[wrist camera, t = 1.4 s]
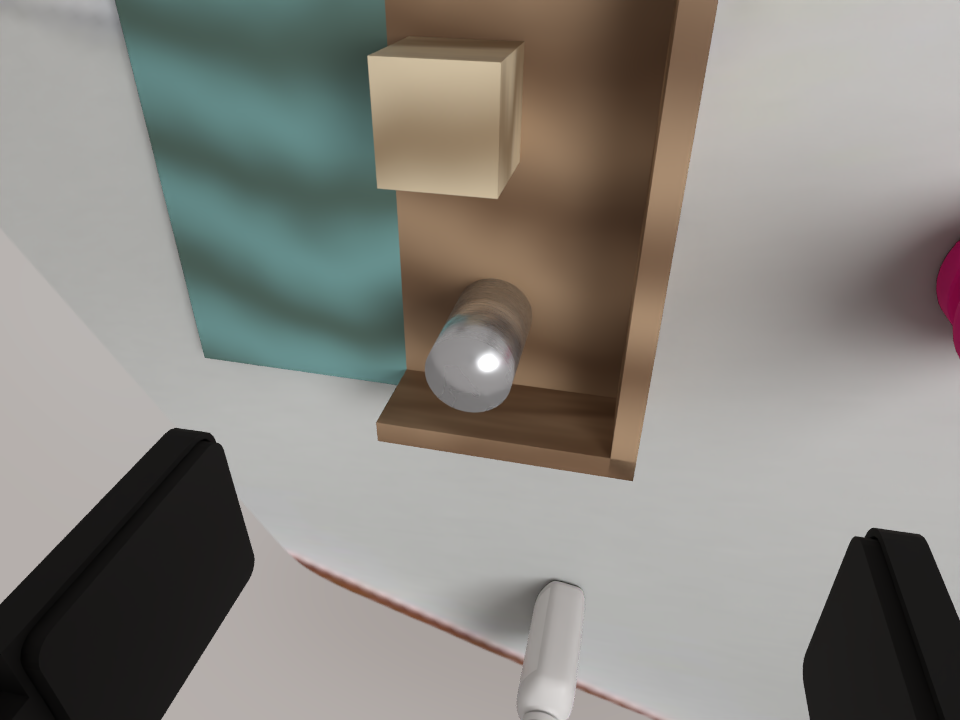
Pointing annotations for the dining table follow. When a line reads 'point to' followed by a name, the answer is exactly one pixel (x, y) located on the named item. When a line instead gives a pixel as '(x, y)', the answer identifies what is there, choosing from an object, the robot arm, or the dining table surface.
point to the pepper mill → (951, 291)
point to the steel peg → (480, 346)
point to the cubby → (430, 204)
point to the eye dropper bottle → (552, 654)
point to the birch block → (447, 114)
